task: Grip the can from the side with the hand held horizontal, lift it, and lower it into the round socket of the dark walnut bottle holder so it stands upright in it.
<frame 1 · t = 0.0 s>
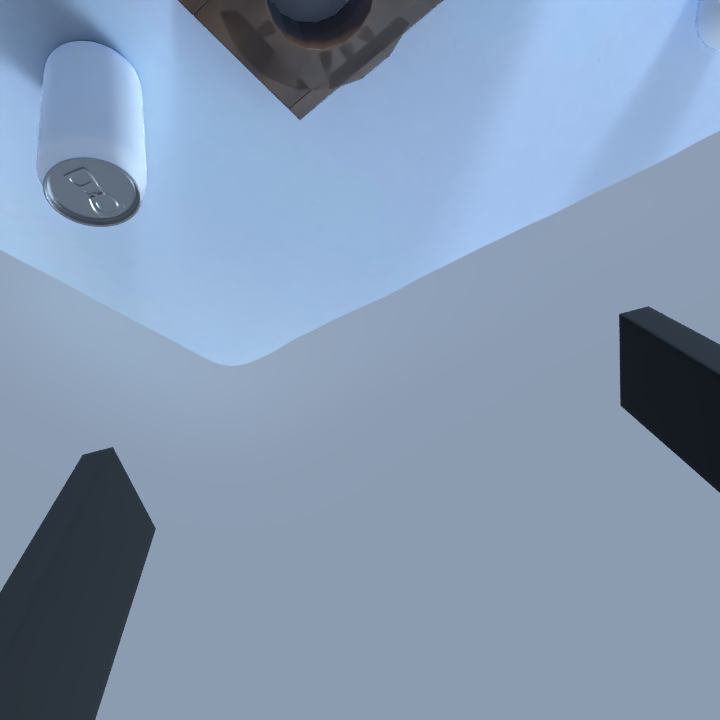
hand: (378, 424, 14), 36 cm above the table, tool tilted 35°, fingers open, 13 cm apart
can: (94, 79, 40), on the table
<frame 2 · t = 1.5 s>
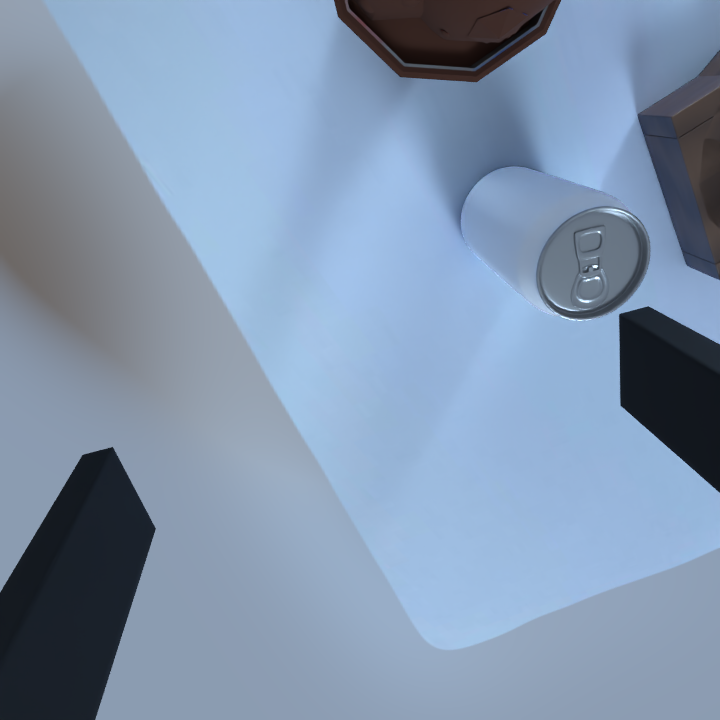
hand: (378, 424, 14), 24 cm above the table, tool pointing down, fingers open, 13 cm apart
can: (504, 214, 36), on the table
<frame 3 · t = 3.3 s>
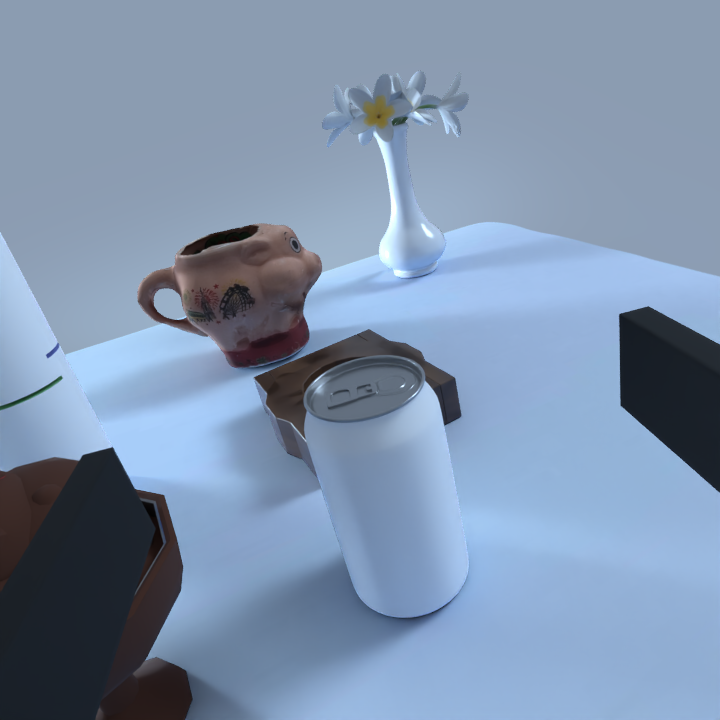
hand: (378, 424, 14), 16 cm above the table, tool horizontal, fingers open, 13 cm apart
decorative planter: (255, 356, 61), on the table
ice cream bowl: (136, 719, 25), on the table
holder: (354, 412, 45), on the table
can: (411, 573, 29), on the table
flower vase: (419, 269, 76), on the table
cylindrical container: (86, 504, 43), on the table
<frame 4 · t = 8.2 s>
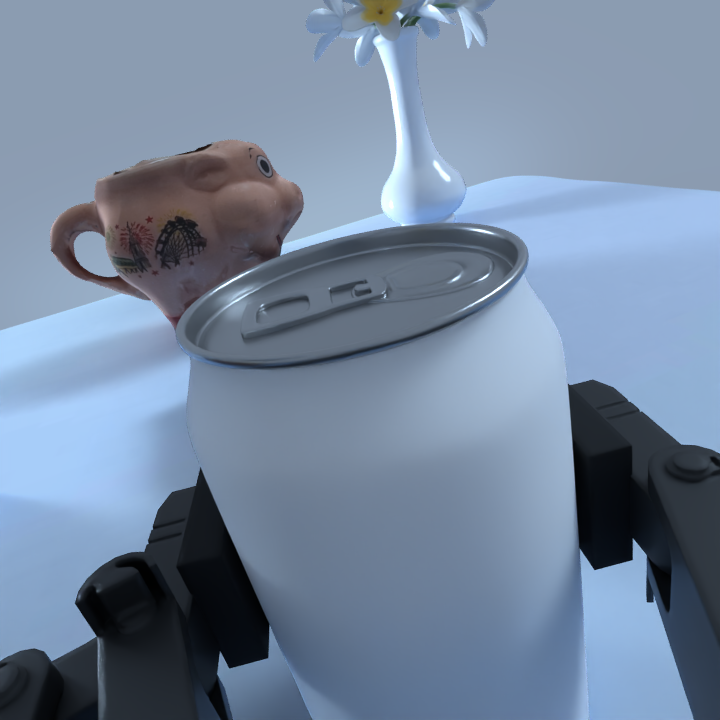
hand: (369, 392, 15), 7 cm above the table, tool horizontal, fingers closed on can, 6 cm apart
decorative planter: (217, 328, 46), on the table
can: (456, 717, 14), on the table, touching gripper
flower vase: (431, 225, 60), on the table
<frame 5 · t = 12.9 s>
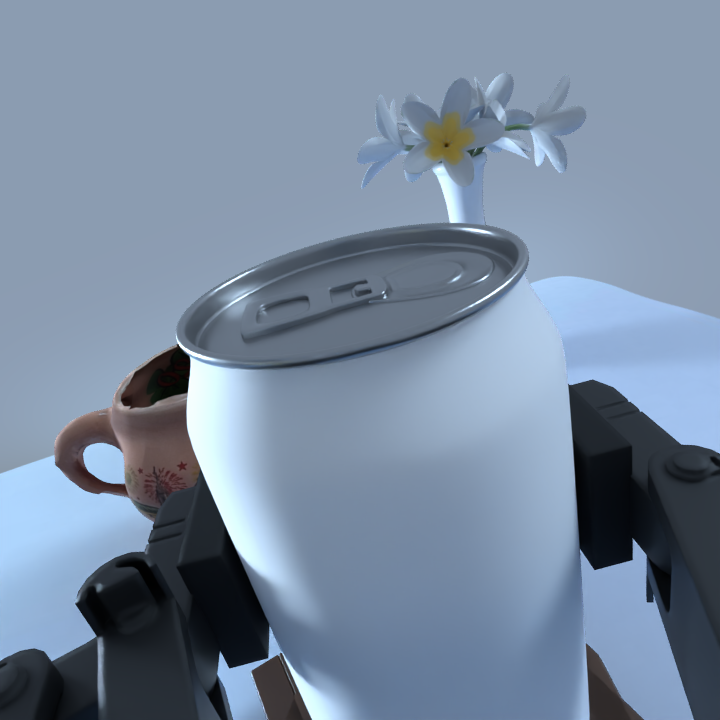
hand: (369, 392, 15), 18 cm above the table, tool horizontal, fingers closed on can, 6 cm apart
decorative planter: (255, 534, 38), on the table
can: (456, 718, 14), point 11 cm above the table, touching gripper
flower vase: (490, 359, 53), on the table
when the fingers open (7 cm above the table, at t = 17.8 s): can stays where it is, resting in holder.
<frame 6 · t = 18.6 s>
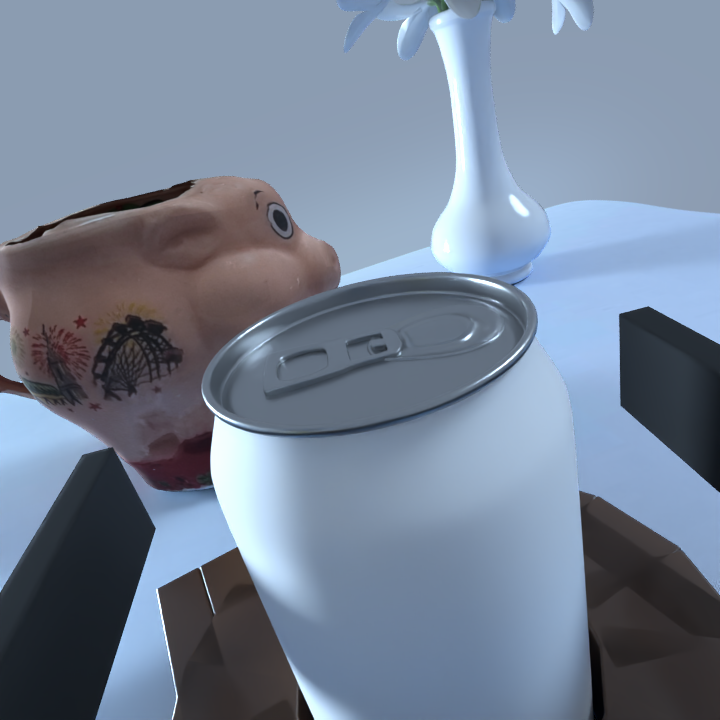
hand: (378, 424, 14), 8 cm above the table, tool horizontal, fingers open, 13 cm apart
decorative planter: (205, 453, 30), on the table
flower vase: (498, 274, 45), on the table
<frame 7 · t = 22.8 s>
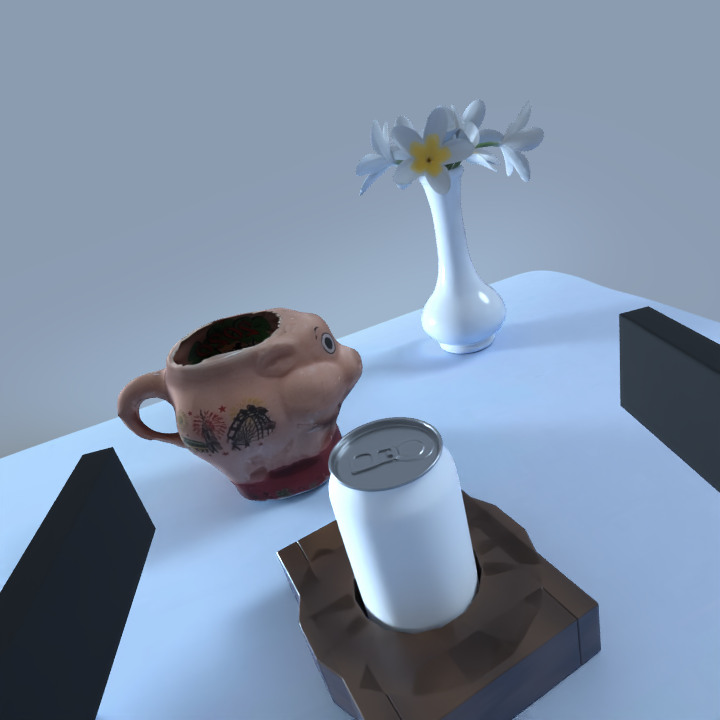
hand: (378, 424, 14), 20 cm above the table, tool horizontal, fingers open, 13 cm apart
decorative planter: (273, 476, 47), on the table
holder: (426, 616, 31), on the table
can: (428, 618, 31), resting in holder
flower vase: (470, 340, 62), on the table
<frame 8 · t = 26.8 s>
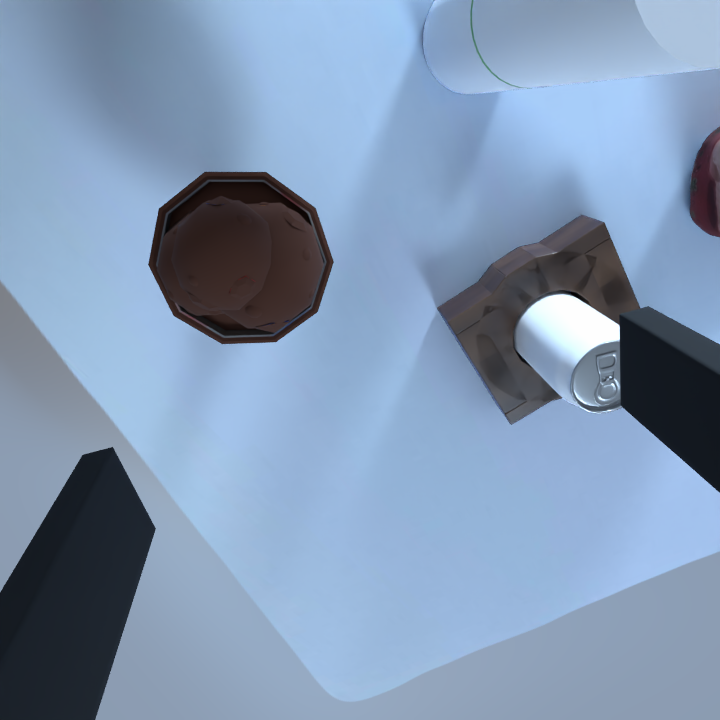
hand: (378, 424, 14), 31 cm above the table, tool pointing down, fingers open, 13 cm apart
ice cream bowl: (252, 231, 41), on the table
holder: (536, 317, 47), on the table
can: (535, 316, 48), resting in holder
cylindrical container: (471, 38, 38), on the table
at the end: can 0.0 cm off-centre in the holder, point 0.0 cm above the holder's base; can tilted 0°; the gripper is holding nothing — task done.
